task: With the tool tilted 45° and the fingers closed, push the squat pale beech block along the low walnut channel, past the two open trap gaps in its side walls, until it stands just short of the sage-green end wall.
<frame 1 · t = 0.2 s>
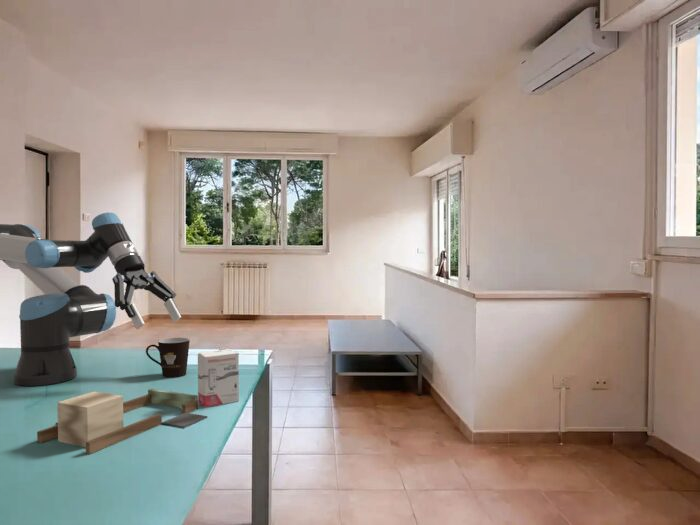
hand: (160, 323, 143), 16 cm above the table, tool tilted 35°, fingers open, 13 cm apart
beech block: (91, 437, 99), on the table
coffee mug: (170, 375, 148), on the table
ink box: (218, 403, 121), on the table
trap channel: (125, 423, 106), on the table
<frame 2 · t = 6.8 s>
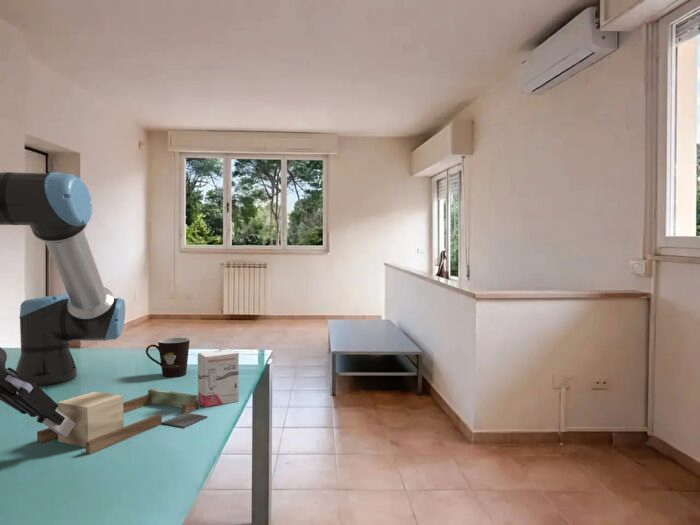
hand: (68, 429, 94), 3 cm above the table, tool tilted 45°, fingers closed
beech block: (91, 437, 99), on the table, touching gripper
everything else where it was.
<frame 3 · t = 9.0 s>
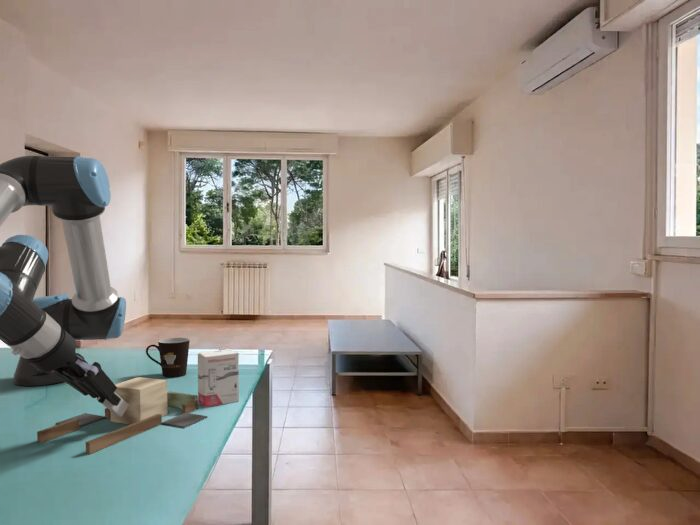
hand: (122, 410, 105), 3 cm above the table, tool tilted 45°, fingers closed
beech block: (139, 417, 110), on the table, touching gripper
everything else where it was.
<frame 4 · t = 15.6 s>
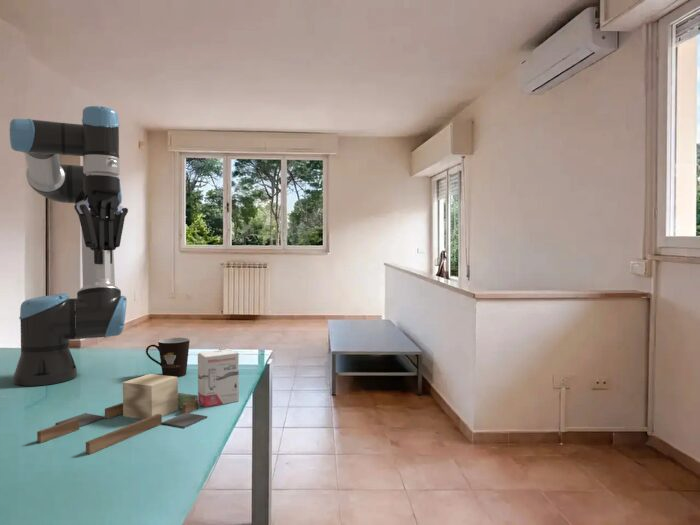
hand: (103, 278, 119), 29 cm above the table, tool pointing down, fingers closed
beech block: (151, 413, 114), on the table
everything else where it was.
at the end: beech block inside the target area (1.2 cm from its centre), on the table; beech block tilted 0°; beech block moved 15.7 cm from its start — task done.
